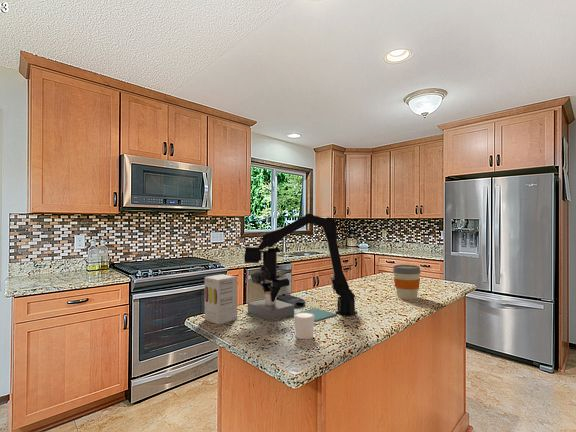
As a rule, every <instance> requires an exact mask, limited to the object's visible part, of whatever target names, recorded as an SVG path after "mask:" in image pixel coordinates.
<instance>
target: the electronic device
mask: <svg viewBox="0 0 576 432" xmlns="http://www.w3.org/2000/svg"><path fill="white" fill-rule="evenodd" d="M276 300H279V301H283V302H286V303H289V304H293V305H294V308H302V307H304V306H305V305H306V303H307V302H306V300H305V299H303V298H301V297H298V296H294V295H292V294H291V293H287V294H286V293H281V294H279V295H277V296H276ZM299 303H300V304H302V305H300V304H299Z"/></svg>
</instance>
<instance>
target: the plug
mask: <svg viewBox="0 0 576 432" xmlns="http://www.w3.org/2000/svg"><path fill="white" fill-rule="evenodd" d="M264 299H265V304H266V305H269V306H270V305H274V304H276V298H275V301H274V302H272V301H271V291H267V292H265V293H264Z"/></svg>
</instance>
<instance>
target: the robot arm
mask: <svg viewBox="0 0 576 432" xmlns="http://www.w3.org/2000/svg"><path fill="white" fill-rule="evenodd" d="M310 224H311V225H315V226H318V227H321V229H322V231H323V234H324V236H325V239H326V241H327V246H328V252H329V256H330V262H331V266H332V271H333V272H332V273H333V275H332V276H333V277H332V276H331V277H330V278H329V279H330V281H331V289H332V291H334V292H335V294H337V295H338V296H339V297H338V296H337V305H336V306H337V310H336V311H335V314H337V315H338V314H339V315H342V316H345V317H349V316H353V315H356V314H358V311H356V305H355V303H356V300H355V298H356V297H355V296H356V295H355V294H354V292H353V290H352V289H350V286H349V283H348V281H347V279H346V278H347V277H345V274H344V272H343V266H342V262H341V261H342V260H341V255H340V252H339V251H340V250H339V246H338V240H337V232H338V231H337V229H338V228H337V221H336V220H335V219H334V218H333V217H322V216H317V215H313V214H312V213H307V214H305V215H304V216H302V217H300V218H298V219H295V220H294V221H293V222H291V223H289V224H287V225H285V226H283V227H280V228H278V229H276V230H273V231H270V232H266V233H265V234H263V236H262V238H261V243H260V244H259V245H258V246H246V247H244V248H245V249H244V256H243V258H244V263H245V264H259V263H260V261H262V265H260V269H259V270H257V271H255V272H253V273H251V274H250V278H251V281H252V284H257V285H259V286H260V287H261V288H262V290H263V292H264V294H265V292H267V291H271V301H272V302H274V301H275V298H276V297H277V296H278V294H279V292H280V290H281V288H282V287H283V288H284V287H289V286H290V285H291V284H290V283H291V282H290V279H289V278H288V277H287V278H286V277H282V276H281V277H280V275H279V274H278V269H279V268H280V265H279V264H278V259H277V257H278V256H277V254H278V253H281V252H282V249H281V248H279V246H278V245H277V246H275V245H276V244H277V243H278V242H280V241H281V240H282V239H284V238H285V237H286V236H288V235H290V234H293V232H296V231H297V230H299V229H301V228H303V227H305V226H307V225H310ZM273 246H275V247H273ZM266 248H268V249H267V250H265V249H266Z"/></svg>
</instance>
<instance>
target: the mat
mask: <svg viewBox="0 0 576 432" xmlns="http://www.w3.org/2000/svg"><path fill="white" fill-rule="evenodd" d="M301 312H307V313H312V314H314V323H317V322H319V321H323V320H325V319H328V318H329V319H330V318H333V317H335V316H337V313H336V312H335V313H334V312H330V311H327V310H324V309H320V308H317V307H314V308H310V309H307V310H302V311H299V312H294V314H296V313H301Z"/></svg>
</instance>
